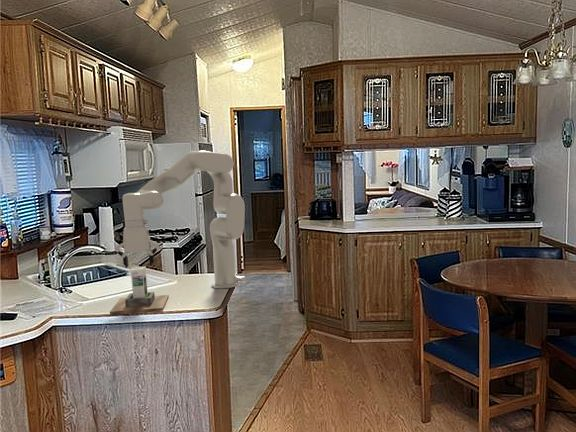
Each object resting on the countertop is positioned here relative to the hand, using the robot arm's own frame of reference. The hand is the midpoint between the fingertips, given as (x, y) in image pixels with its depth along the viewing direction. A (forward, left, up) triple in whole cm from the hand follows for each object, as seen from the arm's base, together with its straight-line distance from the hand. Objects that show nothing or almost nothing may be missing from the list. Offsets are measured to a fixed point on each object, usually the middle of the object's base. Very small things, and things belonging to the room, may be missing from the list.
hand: (139, 265), depth 211 cm
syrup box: (0, 0, -15) cm, 15 cm away
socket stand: (0, 0, -16) cm, 16 cm away
